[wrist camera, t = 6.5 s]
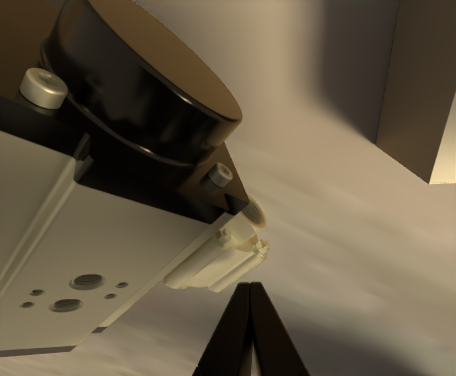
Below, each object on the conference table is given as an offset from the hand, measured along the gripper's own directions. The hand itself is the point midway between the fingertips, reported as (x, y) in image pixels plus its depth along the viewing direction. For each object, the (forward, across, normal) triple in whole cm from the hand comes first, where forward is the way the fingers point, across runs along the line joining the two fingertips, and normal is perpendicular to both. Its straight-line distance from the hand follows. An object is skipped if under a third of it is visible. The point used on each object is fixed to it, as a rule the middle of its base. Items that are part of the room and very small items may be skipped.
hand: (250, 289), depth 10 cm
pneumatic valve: (+3, 0, +1) cm, 4 cm away
